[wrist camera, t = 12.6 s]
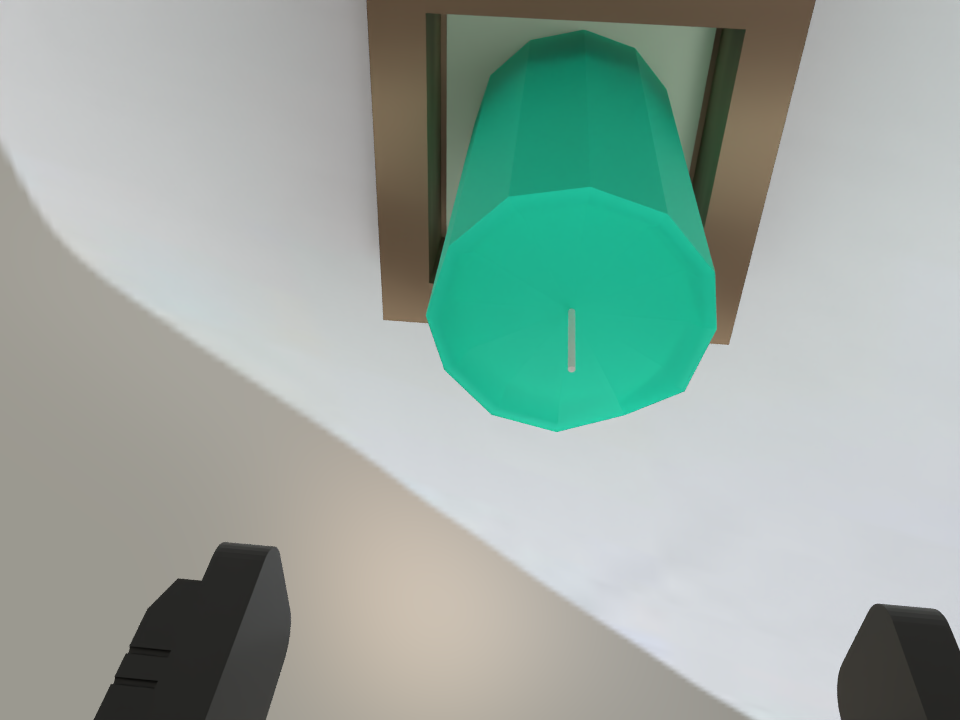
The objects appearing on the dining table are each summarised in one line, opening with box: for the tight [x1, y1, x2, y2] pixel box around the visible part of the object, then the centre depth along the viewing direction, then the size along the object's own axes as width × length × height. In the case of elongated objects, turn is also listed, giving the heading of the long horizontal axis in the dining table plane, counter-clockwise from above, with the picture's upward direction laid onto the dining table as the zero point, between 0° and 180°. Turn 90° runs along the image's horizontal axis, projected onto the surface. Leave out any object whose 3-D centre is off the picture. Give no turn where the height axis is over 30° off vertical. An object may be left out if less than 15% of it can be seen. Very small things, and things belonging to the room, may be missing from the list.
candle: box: [426, 30, 717, 432], centre depth 21 cm, size 6×6×12 cm
